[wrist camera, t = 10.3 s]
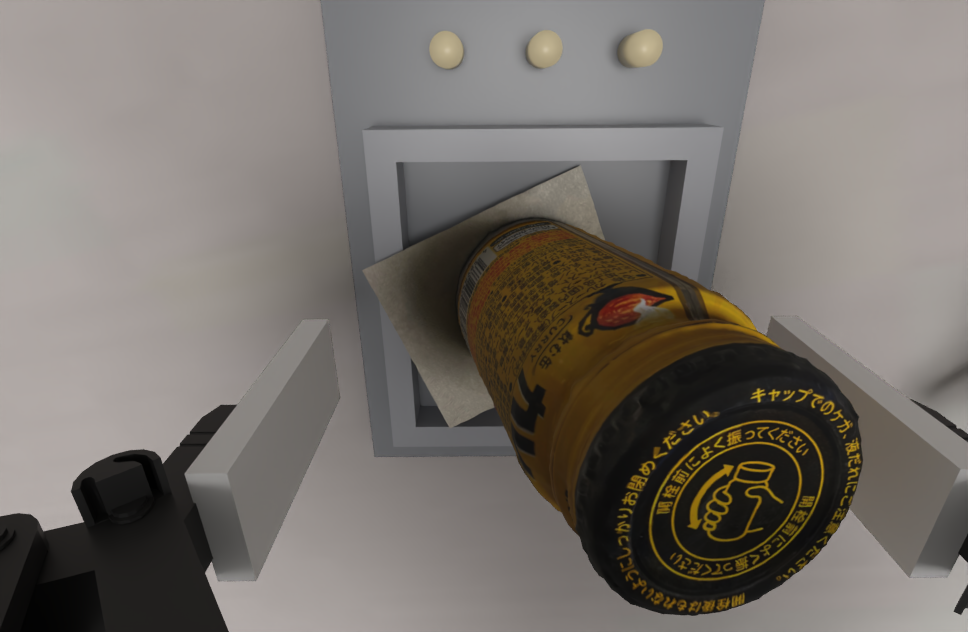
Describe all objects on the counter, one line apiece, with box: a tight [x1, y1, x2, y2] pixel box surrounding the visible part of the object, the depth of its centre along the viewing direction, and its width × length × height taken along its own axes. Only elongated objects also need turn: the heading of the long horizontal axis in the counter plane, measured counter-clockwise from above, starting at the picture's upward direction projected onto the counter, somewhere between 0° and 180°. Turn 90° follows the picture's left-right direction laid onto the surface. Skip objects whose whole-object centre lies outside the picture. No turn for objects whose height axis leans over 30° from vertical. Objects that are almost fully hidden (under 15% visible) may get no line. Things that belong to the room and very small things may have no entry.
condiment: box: [362, 165, 863, 616], centre depth 14 cm, size 7×8×12 cm
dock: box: [320, 0, 765, 457], centre depth 19 cm, size 20×14×2 cm
